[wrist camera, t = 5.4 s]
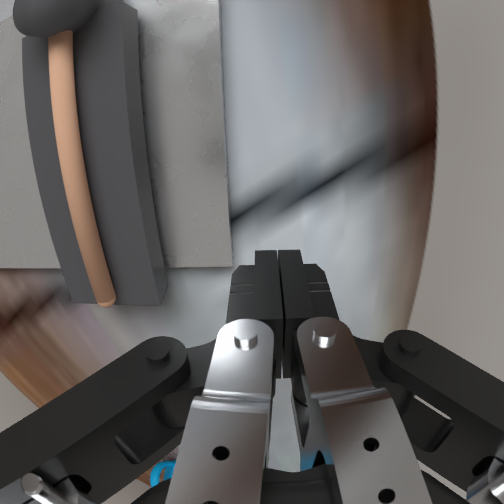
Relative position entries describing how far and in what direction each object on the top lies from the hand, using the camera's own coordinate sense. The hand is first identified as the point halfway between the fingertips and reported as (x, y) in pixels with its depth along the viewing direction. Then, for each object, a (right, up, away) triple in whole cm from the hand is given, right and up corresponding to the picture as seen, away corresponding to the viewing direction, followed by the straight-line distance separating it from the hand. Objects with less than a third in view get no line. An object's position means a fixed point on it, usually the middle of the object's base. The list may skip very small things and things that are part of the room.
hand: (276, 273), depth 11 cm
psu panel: (-16, +8, +5) cm, 19 cm away
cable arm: (-9, +7, +4) cm, 12 cm away
